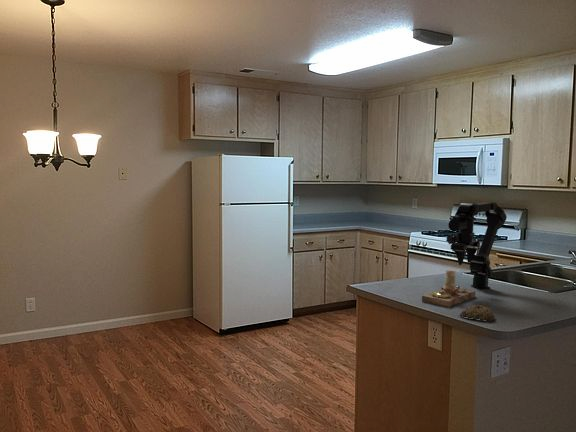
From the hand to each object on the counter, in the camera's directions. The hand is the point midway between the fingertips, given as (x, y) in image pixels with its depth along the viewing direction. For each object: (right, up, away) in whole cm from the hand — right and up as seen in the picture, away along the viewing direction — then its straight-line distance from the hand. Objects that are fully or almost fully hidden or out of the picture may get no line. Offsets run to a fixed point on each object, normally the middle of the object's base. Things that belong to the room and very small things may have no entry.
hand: (464, 263), depth 232 cm
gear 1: (-17, -12, -19) cm, 28 cm away
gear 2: (-6, -11, -9) cm, 16 cm away
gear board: (-12, -14, -14) cm, 23 cm away
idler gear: (-12, -14, -14) cm, 23 cm away
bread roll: (-9, -17, -39) cm, 44 cm away
